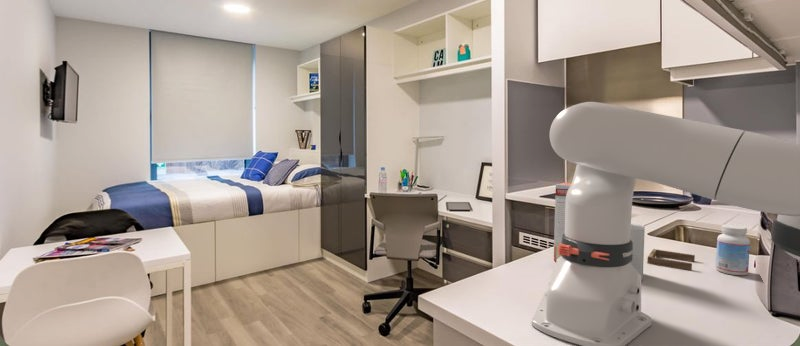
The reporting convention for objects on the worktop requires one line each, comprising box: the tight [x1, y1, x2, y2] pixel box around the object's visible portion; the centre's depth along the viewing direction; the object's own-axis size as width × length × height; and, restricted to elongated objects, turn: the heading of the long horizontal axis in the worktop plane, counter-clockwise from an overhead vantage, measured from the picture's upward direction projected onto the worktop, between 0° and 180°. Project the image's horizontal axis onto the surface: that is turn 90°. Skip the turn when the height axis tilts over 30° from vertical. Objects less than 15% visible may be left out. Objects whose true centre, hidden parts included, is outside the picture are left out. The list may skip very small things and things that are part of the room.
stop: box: [647, 248, 696, 271], centre depth 104 cm, size 10×9×2 cm
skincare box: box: [630, 223, 646, 282], centre depth 93 cm, size 6×4×12 cm
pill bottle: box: [715, 224, 751, 276], centre depth 95 cm, size 6×6×11 cm
